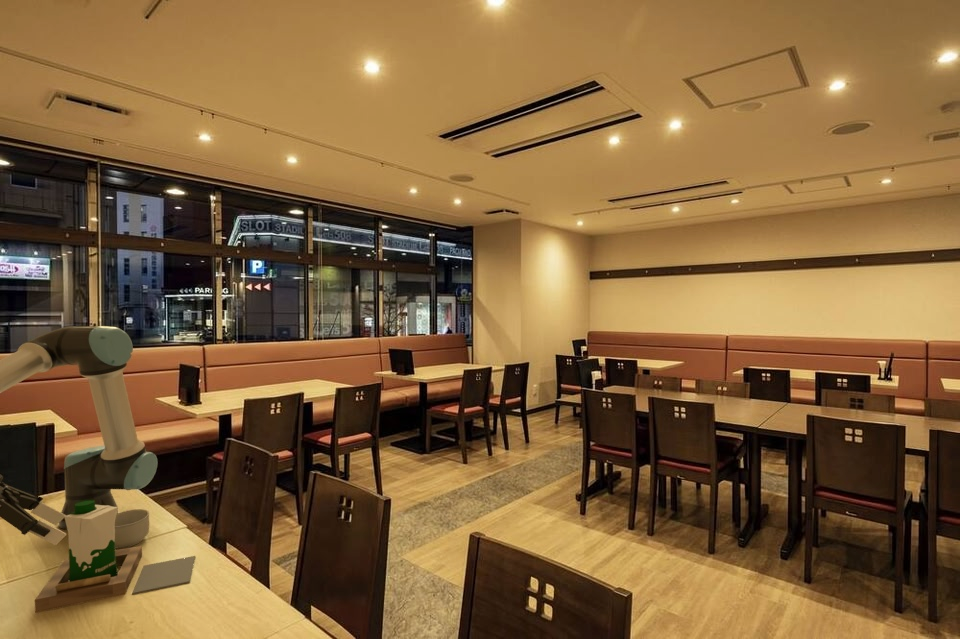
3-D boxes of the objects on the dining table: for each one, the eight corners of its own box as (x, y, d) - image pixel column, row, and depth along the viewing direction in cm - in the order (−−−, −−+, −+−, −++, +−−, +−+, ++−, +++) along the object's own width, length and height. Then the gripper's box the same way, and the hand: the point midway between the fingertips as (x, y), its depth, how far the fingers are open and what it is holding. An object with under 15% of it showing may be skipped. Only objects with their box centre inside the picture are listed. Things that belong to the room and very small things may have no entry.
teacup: (158, 538, 149) (157, 511, 149) (122, 555, 139) (121, 526, 138) (125, 531, 153) (124, 505, 153) (87, 547, 143) (87, 520, 143)
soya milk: (95, 570, 130) (93, 495, 130) (124, 574, 129) (122, 497, 128) (61, 589, 122) (59, 509, 121) (92, 593, 120) (89, 511, 119)
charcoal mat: (143, 566, 132) (143, 565, 132) (195, 557, 137) (195, 555, 137) (132, 594, 119) (132, 592, 119) (189, 582, 124) (189, 581, 124)
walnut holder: (65, 570, 131) (64, 553, 131) (142, 556, 138) (141, 539, 138) (35, 612, 113) (34, 592, 112) (125, 594, 120) (125, 575, 120)
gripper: (-38, 482, 118) (47, 526, 128) (-56, 515, 99) (45, 564, 109) (-8, 455, 121) (73, 500, 131) (-20, 482, 102) (76, 533, 112)
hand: (61, 529), depth 120 cm, fingers open, 13 cm apart
